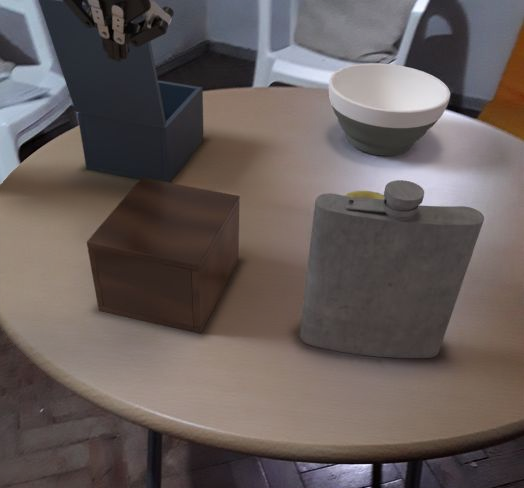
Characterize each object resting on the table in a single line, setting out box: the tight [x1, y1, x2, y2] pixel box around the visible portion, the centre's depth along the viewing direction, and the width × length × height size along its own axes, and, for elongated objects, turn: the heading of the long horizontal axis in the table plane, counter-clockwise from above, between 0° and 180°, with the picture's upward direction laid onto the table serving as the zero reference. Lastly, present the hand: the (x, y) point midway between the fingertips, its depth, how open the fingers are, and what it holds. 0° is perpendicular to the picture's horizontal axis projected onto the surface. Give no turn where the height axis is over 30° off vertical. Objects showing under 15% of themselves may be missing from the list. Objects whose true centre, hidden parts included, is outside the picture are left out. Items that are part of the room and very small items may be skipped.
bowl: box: [328, 62, 451, 156], centre depth 105 cm, size 20×20×10 cm
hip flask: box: [298, 179, 485, 359], centre depth 64 cm, size 16×4×20 cm, turn 84°
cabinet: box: [86, 178, 241, 334], centre depth 74 cm, size 15×13×10 cm
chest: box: [76, 79, 204, 183], centre depth 98 cm, size 16×14×9 cm
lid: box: [38, 0, 166, 127], centre depth 82 cm, size 16×14×1 cm
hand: (117, 54), depth 73 cm, fingers closed
